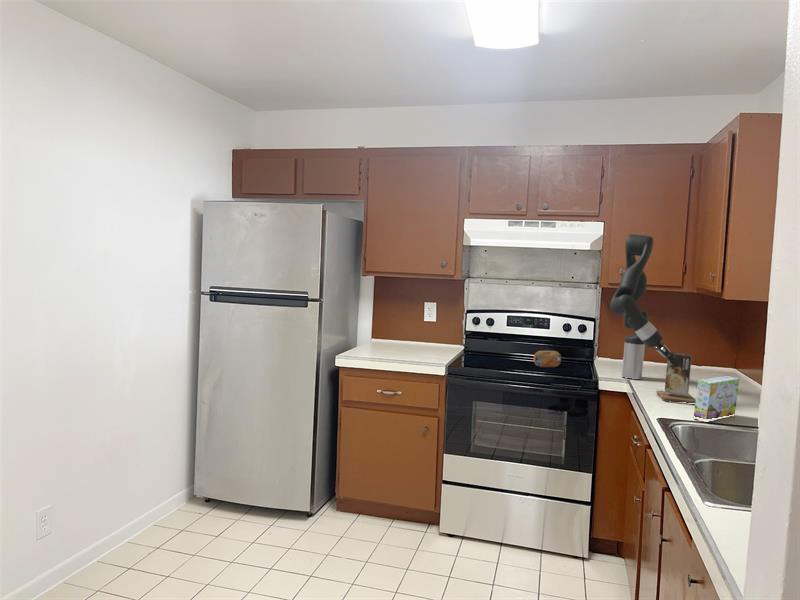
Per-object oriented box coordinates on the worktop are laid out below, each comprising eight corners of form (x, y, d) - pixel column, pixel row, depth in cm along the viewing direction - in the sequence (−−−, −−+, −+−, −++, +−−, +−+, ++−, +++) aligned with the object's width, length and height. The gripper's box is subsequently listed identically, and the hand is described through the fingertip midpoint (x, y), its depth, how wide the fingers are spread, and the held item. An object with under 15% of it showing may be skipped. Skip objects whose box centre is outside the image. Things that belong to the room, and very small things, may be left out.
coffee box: (688, 391, 251) (692, 354, 249) (688, 395, 245) (692, 356, 244) (665, 388, 255) (668, 351, 254) (663, 391, 250) (667, 353, 248)
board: (656, 393, 259) (656, 390, 259) (688, 397, 256) (688, 393, 256) (663, 401, 245) (663, 398, 245) (697, 405, 243) (697, 401, 243)
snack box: (707, 423, 215) (712, 382, 214) (692, 419, 220) (696, 379, 218) (736, 416, 228) (740, 377, 226) (721, 413, 232) (725, 374, 231)
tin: (534, 367, 306) (536, 351, 305) (531, 366, 309) (533, 349, 308) (561, 367, 310) (562, 351, 309) (558, 366, 313) (559, 350, 312)
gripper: (659, 330, 243) (687, 361, 242) (652, 326, 257) (678, 355, 256) (644, 342, 245) (672, 373, 244) (638, 337, 259) (664, 366, 258)
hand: (675, 364), depth 250 cm, fingers closed on coffee box, 7 cm apart
